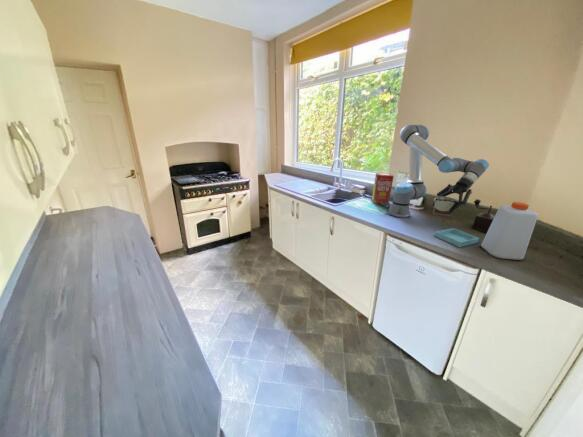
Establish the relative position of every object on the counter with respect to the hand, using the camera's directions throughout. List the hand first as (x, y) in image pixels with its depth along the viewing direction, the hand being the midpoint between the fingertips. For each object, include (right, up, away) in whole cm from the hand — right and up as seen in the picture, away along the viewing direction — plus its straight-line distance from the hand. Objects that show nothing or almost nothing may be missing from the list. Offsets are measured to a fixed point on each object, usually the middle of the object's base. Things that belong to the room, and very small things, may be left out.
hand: (441, 208), depth 142 cm
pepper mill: (+36, -13, +17) cm, 41 cm away
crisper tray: (+8, -19, -1) cm, 20 cm away
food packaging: (-13, +8, +65) cm, 67 cm away
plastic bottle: (+22, -25, -16) cm, 37 cm away
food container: (+2, -3, +4) cm, 5 cm away
